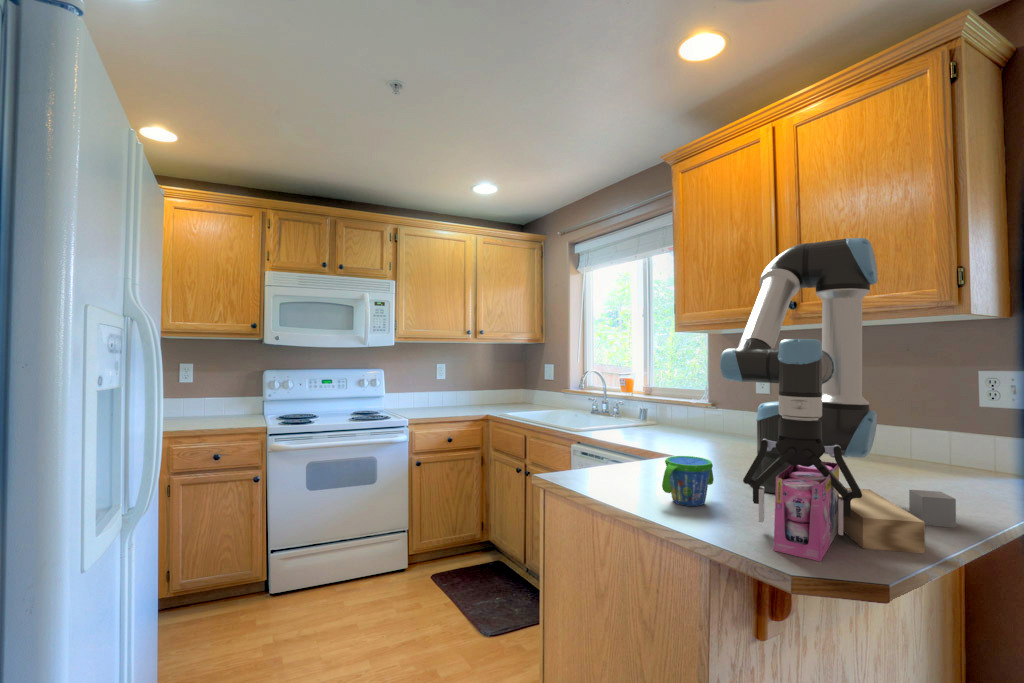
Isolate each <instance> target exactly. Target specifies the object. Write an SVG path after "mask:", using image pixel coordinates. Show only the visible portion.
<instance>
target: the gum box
mask: <svg viewBox="0 0 1024 683" xmlns="http://www.w3.org/2000/svg"><path fill="white" fill-rule="evenodd" d="M821 461H822V460H821ZM822 462H823V463H824V464H825V466H826V467H827V468H828V469H829V470H830V471H831V472H832V473H833V475H834V476H835V477H836V478H837V479H838V480H839V481H840V475H839V474H840V468H839V466H838V464H837V463H836V462H830V461H822ZM838 496H839V493H838V491H837V490H836V489H835V488H834V487H833V486H832V485H831V478H830V474H829V475H828V477H824V476H823V474H822V473H821V472H820V471H819V470H818V469H817V468H816V467H815V466H814V465H812V466H809V467H804V466H801V465H796V466H794V465H791V466H789V467H788V468H787V469H785V470H784V471H783V472H781V473H780V474H779V475H778V476H776V494H775V497H774V523H773V524H774V530H773V532H774V533H773V534H774V536H773V551H775V552H777V553H783V554H786V555H790V556H794V557H799V558H805V559H809V560H813V561H817V562H822V560H823V558H824V556H825V555H826V554H827V551H828V550H829V548H830V547H831V544H832V543H833V541H834V539H835V538H836V536H837V534H838Z"/></svg>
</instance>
